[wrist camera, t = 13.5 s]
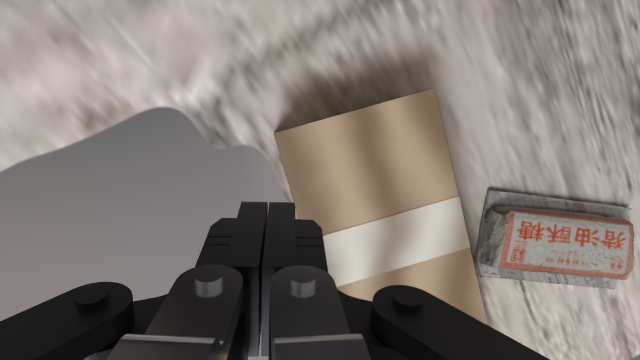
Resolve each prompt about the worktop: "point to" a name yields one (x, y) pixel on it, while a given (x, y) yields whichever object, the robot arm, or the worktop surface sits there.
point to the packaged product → (554, 240)
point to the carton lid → (385, 200)
